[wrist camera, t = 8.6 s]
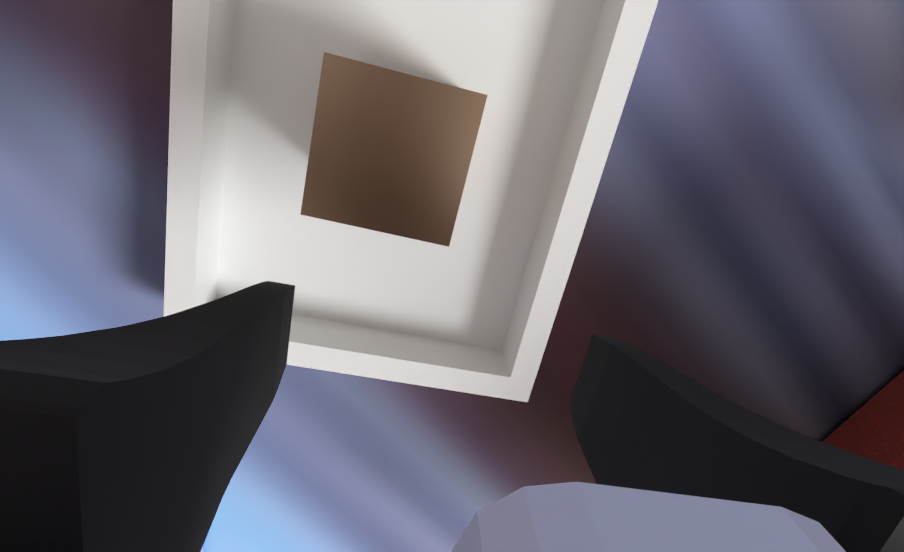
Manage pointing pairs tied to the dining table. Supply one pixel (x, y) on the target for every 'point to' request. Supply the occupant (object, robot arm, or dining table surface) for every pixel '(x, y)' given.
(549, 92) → the tray
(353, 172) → the walnut block
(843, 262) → the dining table surface
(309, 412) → the dining table surface
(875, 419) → the plant pot
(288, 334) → the robot arm
